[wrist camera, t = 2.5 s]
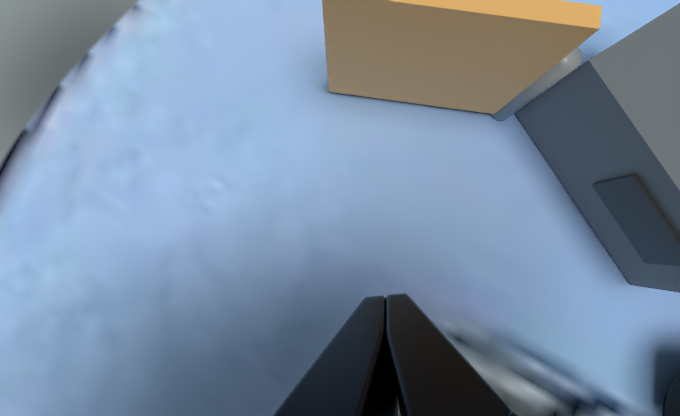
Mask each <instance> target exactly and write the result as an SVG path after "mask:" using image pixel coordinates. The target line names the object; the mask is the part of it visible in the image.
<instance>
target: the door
mask: <svg viewBox="0 0 680 416" xmlns="http://www.w3.org/2000/svg"><path fill="white" fill-rule="evenodd" d="M322 5H323V18H324V31H325V44H326V57H327V70H328V84H329V92H335V93H342V94H350V95H357V96H364V97H372V98H379V99H386V100H394V101H401V102H408V103H416V104H423V105H430V106H438V107H445V108H452V109H460V110H467V111H474V112H482V113H489V114H491V116H492V117H493V118H494V119H495V120H498V121H503V120H505V119H507V118H508V117H509V116H511V115H512V114H514V113H515V112H516V111H518V110H519V109H520V108H522V107H523V106H525V105H526V104H527V103H529V102H530V101H531V100H533V99H534V98H536V97H537V96H538V95H540V94H541V93H542V92H544V91H545V90H547V89H548V88H549V87H551V86H552V85H554V84H555V83H556V82H558V81H559V80H560V79H562V78H563V77H565V76H566V75H567V74H569V73H570V72H571V71H573V70H574V69H576V68H577V67H578V66H579V65H580V63H581V61H582V54H581V51H580V49H579V48H578V46H579V45H580V44H582V43H583V42H584V41H585V40H586V39H588V38H589V37H590V36H591V35H593V34H594V33H595V32H596V31H598V30H599V29H600V19H601V9H602V6H598V5H590V4H582V3H575V2H567V1H560V0H322Z"/></svg>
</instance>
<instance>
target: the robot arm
mask: <svg viewBox="0 0 680 416" xmlns="http://www.w3.org/2000/svg"><path fill="white" fill-rule="evenodd" d="M397 397H398V401H397ZM398 403H399V408H400V413H401V416H517V414H516V413H514V412H511V409H510V408H509V407H508V406H507V404H506V403H505V402H504V401H503V400H502V399H501V398H500V397H499V396H498V394H497V393H496V392H495V391H494V390H493V389H492V388H491V387H490V386H489V384H488V383H487V382H486V381H485V380H484V379H483V378H482V377H481V376H480V374H479V373H478V372H477V371H476V370H475V369H474V368H473V367H472V366H471V364H470V363H469V362H468V361H467V360H466V359H465V358H464V357H463V356H462V354H461V353H460V352H459V351H458V350H457V349H456V348H455V347H454V346H453V344H452V343H451V342H450V341H449V340H448V339H447V338H446V337H445V336H444V334H443V333H442V332H441V331H440V330H439V329H438V328H437V327H436V326H435V324H434V323H433V322H432V321H431V320H430V319H429V318H428V317H427V316H426V314H425V313H424V312H423V311H422V310H421V309H420V308H419V307H418V306H417V305H416V303H415V302H414V301H413V300H412V299H411V298H410V297H409V296H408V295H407V294H405V293H402V294H392V295H388V296H387V297H386V298H385V297H384V296H373V297H366V298H365V299H363V301H362V302H361V303H360V305H359V306H358V307H357V308H356V310H355V311H354V312H353V314H352V315H351V316H350V317H349V319H348V320H347V321H346V323H345V324H344V325H343V326H342V328H341V329H340V330H339V332H338V333H337V334H336V335H335V337H334V338H333V339H332V341H331V342H330V343H329V344H328V346H327V347H326V348H325V350H324V351H323V352H322V353H321V355H320V356H319V357H318V359H317V360H316V361H315V362H314V364H313V365H312V366H311V367H310V369H309V370H308V371H307V373H306V374H305V375H304V376H303V378H302V379H301V380H300V382H299V383H298V384H297V385H296V387H295V388H294V389H293V391H292V392H291V393H290V394H289V396H288V397H287V398H286V400H285V401H284V402H283V403H282V405H281V406H280V407H279V409H278V410H277V411H276V412H275V414H274V415H273V416H398Z"/></svg>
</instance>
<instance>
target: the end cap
mask: <svg viewBox="0 0 680 416" xmlns="http://www.w3.org/2000/svg"><path fill="white" fill-rule="evenodd" d="M663 416H680V373H679V374H678V375H677V376H676V377H675V378H674V379H673V381H672V383H671V385H670V387H669V390H668V393H667V394H666V396H665V400H664V406H663Z"/></svg>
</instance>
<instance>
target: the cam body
mask: <svg viewBox="0 0 680 416" xmlns="http://www.w3.org/2000/svg"><path fill="white" fill-rule="evenodd" d="M515 115H516V116H517V118H518V119H519V121H520V122H521V124H522V125H523V127H524V128H525V130H526V131H527V133H528V134H529V136H530V137H531V139H532V140H533V142H534V143H535V145H536V146H537V147H538V149H539V150H540V152H541V153H542V155H543V156H544V158H545V159H546V161H547V162H548V164H549V165H550V167H551V168H552V170H553V171H554V173H555V174H556V176H557V177H558V179H559V180H560V182H561V183H562V185H563V186H564V188H565V189H566V191H567V192H568V193H569V195H570V196H571V198H572V199H573V201H574V202H575V204H576V205H577V207H578V208H579V210H580V211H581V213H582V214H583V216H584V217H585V219H586V220H587V222H588V223H589V225H590V226H591V228H592V229H593V231H594V232H595V234H596V235H597V236H598V238H599V239H600V241H601V242H602V244H603V245H604V247H605V248H606V250H607V251H608V253H609V254H610V256H611V257H612V259H613V260H614V262H615V263H616V265H617V266H618V268H619V269H620V271H621V272H622V274H623V275H624V277H625V278H626V279H627V281H628V282H629V284H630V285H636V286H642V287H648V288H655V289H661V290H668V291H674V292H680V4H678V5H676V6H675V7H673V8H672V9H670V10H668V11H667V12H665V13H664V14H662V15H660V16H659V17H657V18H655V19H654V20H652V21H651V22H649V23H647V24H646V25H644V26H643V27H641V28H639V29H638V30H636V31H635V32H633V33H631V34H630V35H628V36H627V37H625V38H623V39H622V40H620V41H619V42H617V43H615V44H614V45H612V46H611V47H609V48H607V49H606V50H604V51H603V52H601V53H599V54H598V55H596V56H595V57H593V58H591V59H590V60H588V61H587V62H586V63H584V64H583V65H581V66H580V67H579V68H577V69H576V70H574V71H573V72H572V73H570V74H569V75H568V76H566V77H565V78H563V79H562V80H561V81H559V82H558V83H556V84H555V85H554V86H552V87H551V88H549V89H548V90H547V91H545V92H544V93H543V94H541V95H540V96H538V97H537V98H536V99H534V100H533V101H531V102H530V103H529V104H527V105H526V106H524V107H523V108H522V109H520V110H519V111H518V112H516V113H515Z"/></svg>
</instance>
